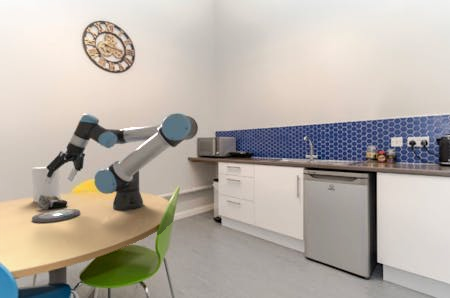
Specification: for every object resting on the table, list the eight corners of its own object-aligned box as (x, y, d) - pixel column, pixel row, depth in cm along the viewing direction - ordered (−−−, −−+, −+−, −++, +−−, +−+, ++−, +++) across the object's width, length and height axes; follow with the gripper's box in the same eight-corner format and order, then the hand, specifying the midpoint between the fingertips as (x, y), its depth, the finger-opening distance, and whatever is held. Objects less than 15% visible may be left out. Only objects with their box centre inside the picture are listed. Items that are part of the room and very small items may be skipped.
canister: (65, 197, 164) (64, 166, 164) (46, 202, 151) (44, 168, 150) (48, 196, 167) (46, 166, 167) (27, 201, 154) (26, 168, 154)
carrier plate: (88, 211, 130) (88, 208, 130) (60, 223, 111) (60, 220, 111) (54, 210, 132) (54, 208, 132) (20, 222, 114) (20, 219, 114)
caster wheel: (68, 210, 143) (53, 212, 133) (51, 205, 145) (35, 207, 135) (72, 198, 143) (57, 199, 133) (55, 193, 145) (39, 194, 135)
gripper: (90, 141, 140) (72, 175, 141) (50, 138, 115) (30, 179, 117) (100, 148, 138) (83, 182, 140) (62, 146, 114) (42, 188, 115)
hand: (59, 181), depth 128 cm, fingers open, 13 cm apart
